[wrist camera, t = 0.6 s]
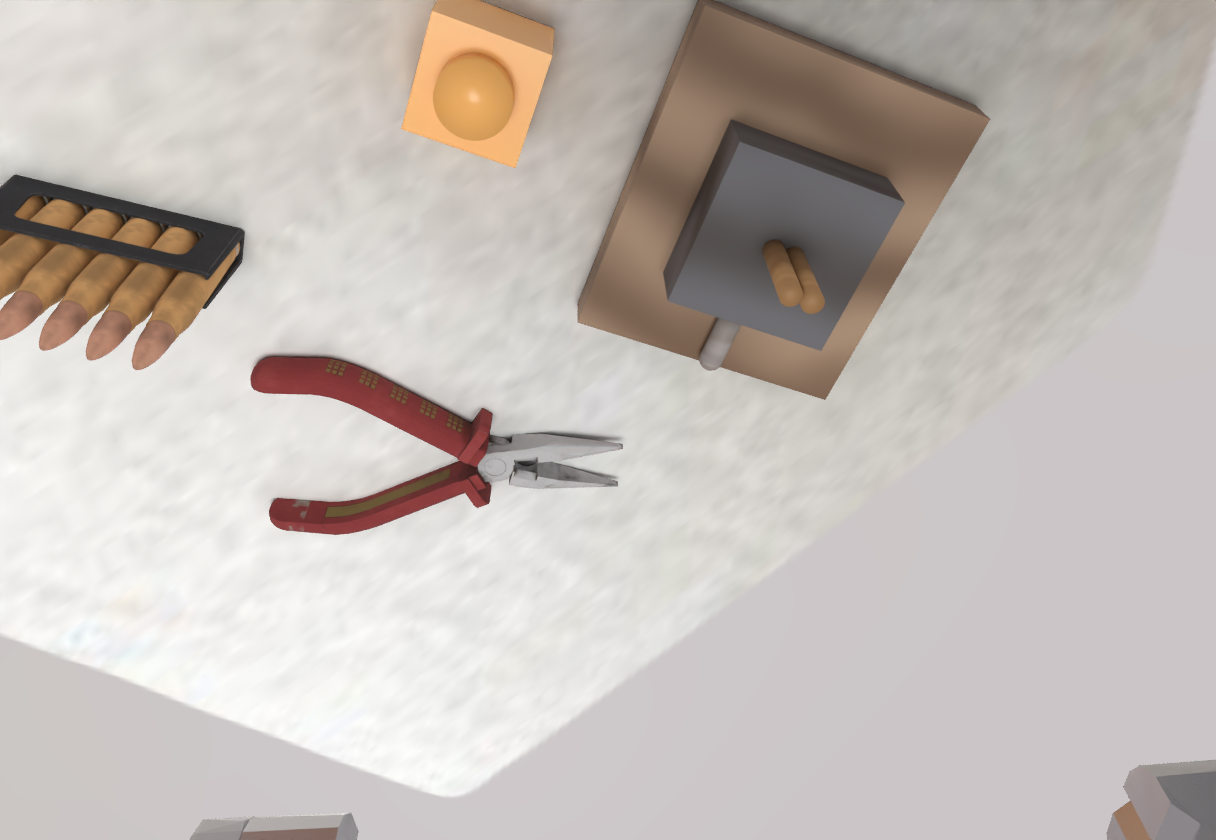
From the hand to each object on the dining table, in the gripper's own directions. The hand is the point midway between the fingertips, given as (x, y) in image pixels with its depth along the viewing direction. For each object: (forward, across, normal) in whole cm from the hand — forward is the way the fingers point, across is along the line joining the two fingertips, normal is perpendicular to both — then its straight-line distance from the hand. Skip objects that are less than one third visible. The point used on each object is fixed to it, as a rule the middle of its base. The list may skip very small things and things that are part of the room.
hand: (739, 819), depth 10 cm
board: (+40, -7, +10) cm, 42 cm away
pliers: (+41, +12, +24) cm, 49 cm away
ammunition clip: (+40, +24, +8) cm, 47 cm away
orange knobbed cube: (+40, +6, +2) cm, 40 cm away
